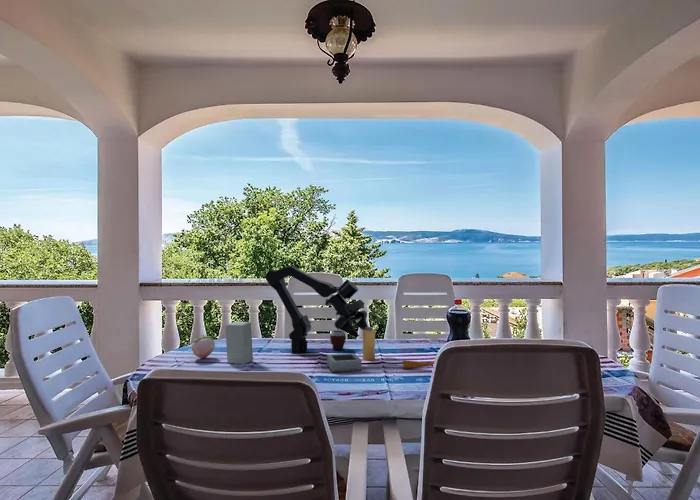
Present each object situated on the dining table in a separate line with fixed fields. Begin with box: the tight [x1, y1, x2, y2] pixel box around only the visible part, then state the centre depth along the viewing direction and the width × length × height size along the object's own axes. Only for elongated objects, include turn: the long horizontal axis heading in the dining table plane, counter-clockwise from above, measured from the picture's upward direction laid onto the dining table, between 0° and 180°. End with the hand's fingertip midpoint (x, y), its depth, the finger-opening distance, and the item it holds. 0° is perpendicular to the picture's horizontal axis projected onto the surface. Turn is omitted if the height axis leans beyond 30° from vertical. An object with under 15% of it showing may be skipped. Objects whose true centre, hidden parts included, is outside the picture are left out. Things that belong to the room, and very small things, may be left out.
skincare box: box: [224, 321, 254, 365], centre depth 167 cm, size 8×7×16 cm
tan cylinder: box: [362, 326, 376, 362], centre depth 172 cm, size 5×5×13 cm
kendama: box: [402, 359, 435, 370], centre depth 156 cm, size 6×6×20 cm
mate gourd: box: [329, 314, 347, 351], centre depth 190 cm, size 8×8×15 cm
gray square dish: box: [326, 353, 362, 374], centre depth 158 cm, size 11×11×4 cm
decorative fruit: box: [191, 334, 216, 359], centre depth 172 cm, size 9×8×10 cm
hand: (363, 334), depth 173 cm, fingers open, 9 cm apart
